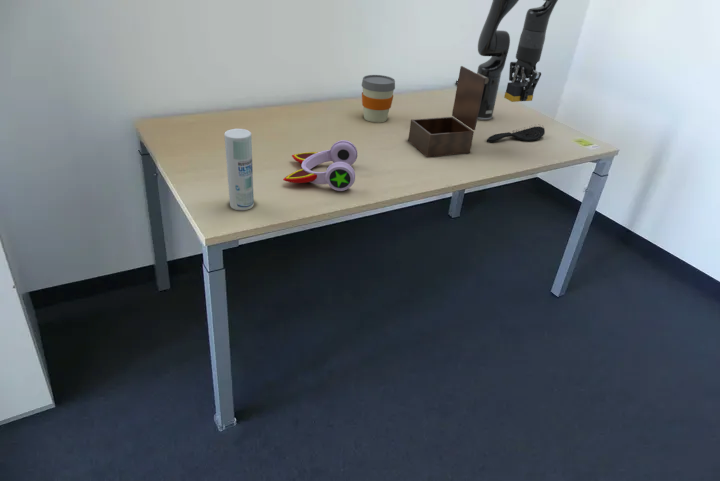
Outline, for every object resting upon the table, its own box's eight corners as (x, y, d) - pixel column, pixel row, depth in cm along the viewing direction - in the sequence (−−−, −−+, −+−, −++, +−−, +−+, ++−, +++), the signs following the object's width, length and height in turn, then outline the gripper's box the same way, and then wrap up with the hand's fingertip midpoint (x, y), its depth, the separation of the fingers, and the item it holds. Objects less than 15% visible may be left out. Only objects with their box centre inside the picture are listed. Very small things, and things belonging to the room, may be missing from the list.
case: (427, 157, 176) (430, 135, 172) (408, 140, 187) (410, 119, 183) (469, 153, 182) (474, 131, 178) (448, 137, 193) (452, 116, 189)
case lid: (483, 78, 168) (497, 77, 170) (460, 66, 179) (473, 65, 181) (473, 130, 177) (486, 129, 179) (451, 115, 189) (464, 114, 190)
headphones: (357, 168, 146) (285, 154, 144) (351, 199, 151) (281, 185, 150) (360, 141, 163) (295, 128, 161) (353, 170, 168) (291, 157, 166)
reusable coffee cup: (374, 126, 197) (378, 86, 189) (352, 116, 205) (355, 77, 197) (398, 120, 205) (402, 81, 197) (376, 110, 212) (379, 73, 204)
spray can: (239, 213, 136) (235, 140, 126) (224, 204, 140) (218, 132, 129) (259, 205, 141) (256, 134, 130) (244, 196, 144) (240, 126, 134)
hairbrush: (482, 130, 193) (536, 121, 202) (480, 139, 195) (534, 130, 204) (496, 138, 187) (551, 129, 196) (494, 148, 189) (548, 138, 198)
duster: (511, 101, 172) (515, 86, 169) (503, 97, 175) (507, 82, 173) (532, 100, 175) (535, 85, 172) (523, 96, 178) (527, 81, 175)
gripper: (555, 50, 161) (540, 104, 171) (527, 39, 172) (514, 91, 182) (535, 50, 159) (521, 106, 168) (507, 39, 170) (496, 92, 179)
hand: (518, 98), depth 175 cm, fingers closed on duster, 4 cm apart
